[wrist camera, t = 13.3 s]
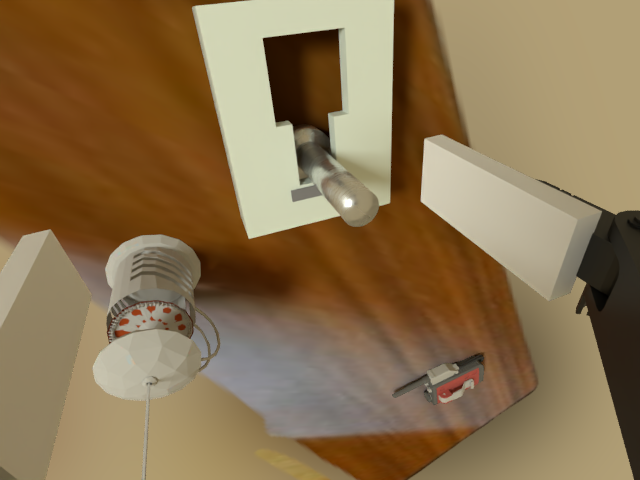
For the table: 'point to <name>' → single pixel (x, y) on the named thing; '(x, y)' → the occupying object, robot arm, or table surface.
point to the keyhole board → (277, 138)
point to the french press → (151, 322)
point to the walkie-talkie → (449, 380)
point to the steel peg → (332, 177)
